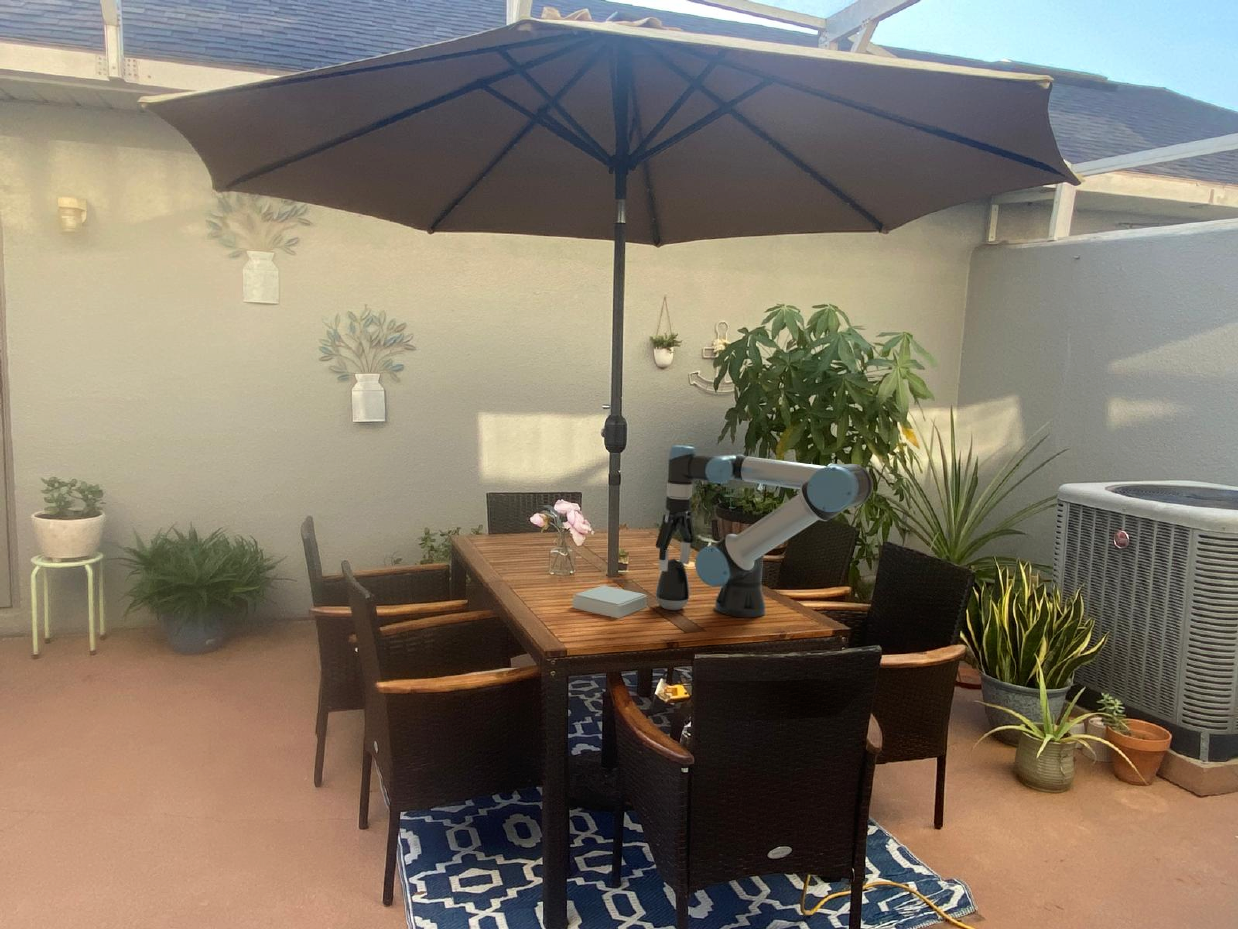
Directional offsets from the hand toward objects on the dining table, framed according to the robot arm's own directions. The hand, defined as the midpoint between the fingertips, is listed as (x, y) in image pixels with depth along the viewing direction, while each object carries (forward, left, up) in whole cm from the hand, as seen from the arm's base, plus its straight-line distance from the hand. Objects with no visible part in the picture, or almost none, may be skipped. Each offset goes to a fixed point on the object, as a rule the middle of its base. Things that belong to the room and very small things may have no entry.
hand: (673, 567), depth 251 cm
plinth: (+14, +13, -13) cm, 23 cm away
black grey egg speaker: (0, 0, -13) cm, 13 cm away
